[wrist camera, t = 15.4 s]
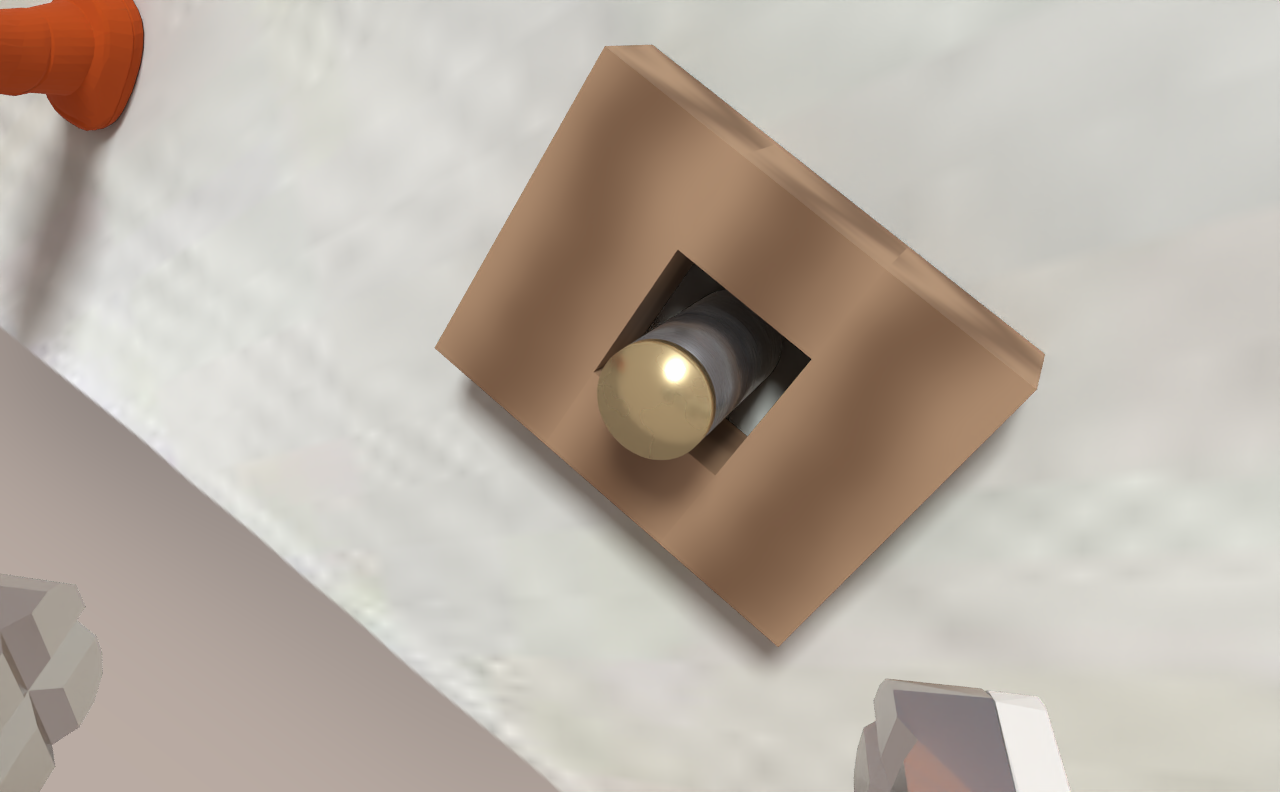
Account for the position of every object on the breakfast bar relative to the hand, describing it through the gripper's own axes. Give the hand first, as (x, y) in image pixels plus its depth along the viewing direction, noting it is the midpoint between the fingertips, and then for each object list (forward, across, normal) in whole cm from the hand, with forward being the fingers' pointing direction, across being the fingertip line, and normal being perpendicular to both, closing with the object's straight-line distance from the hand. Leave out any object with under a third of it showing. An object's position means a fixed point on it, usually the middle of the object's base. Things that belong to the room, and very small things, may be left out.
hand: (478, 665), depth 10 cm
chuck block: (+27, -4, +13) cm, 30 cm away
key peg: (+27, -4, +13) cm, 30 cm away
